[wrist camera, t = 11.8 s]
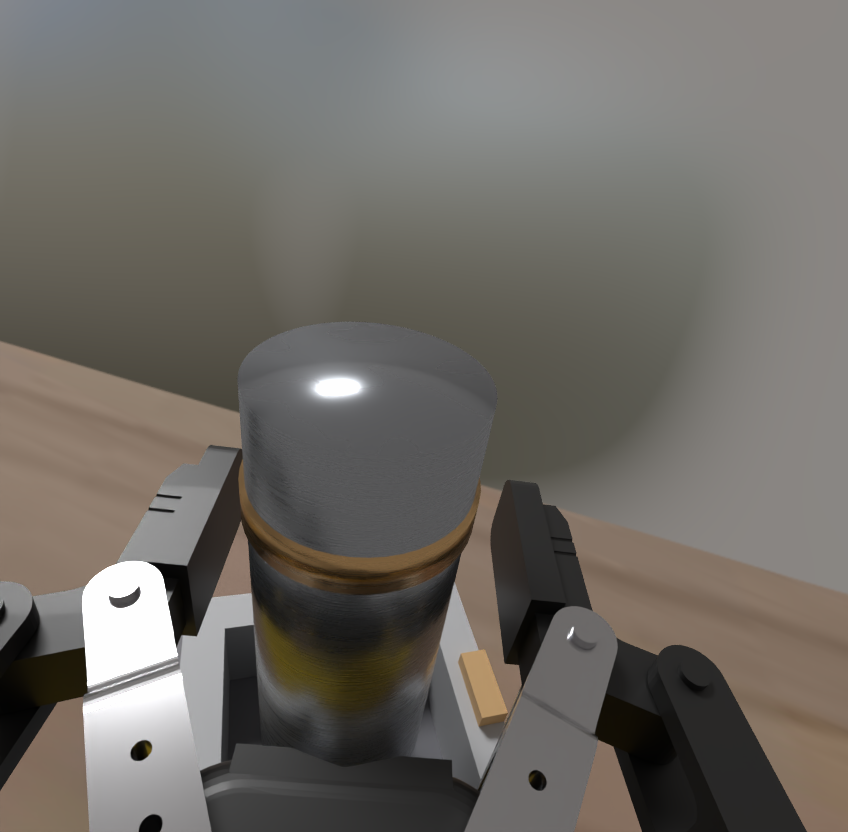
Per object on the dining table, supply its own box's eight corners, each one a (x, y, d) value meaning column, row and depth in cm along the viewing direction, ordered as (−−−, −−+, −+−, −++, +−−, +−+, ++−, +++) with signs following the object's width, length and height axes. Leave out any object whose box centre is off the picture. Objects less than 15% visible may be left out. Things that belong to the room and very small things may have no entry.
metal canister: (262, 875, 15) (227, 469, 7) (258, 707, 18) (233, 318, 11) (427, 832, 16) (548, 450, 8) (393, 683, 20) (457, 320, 12)
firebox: (63, 1201, 12) (-15, 1200, 9) (147, 643, 22) (124, 548, 19) (534, 1022, 15) (603, 973, 12) (417, 607, 25) (437, 521, 22)
